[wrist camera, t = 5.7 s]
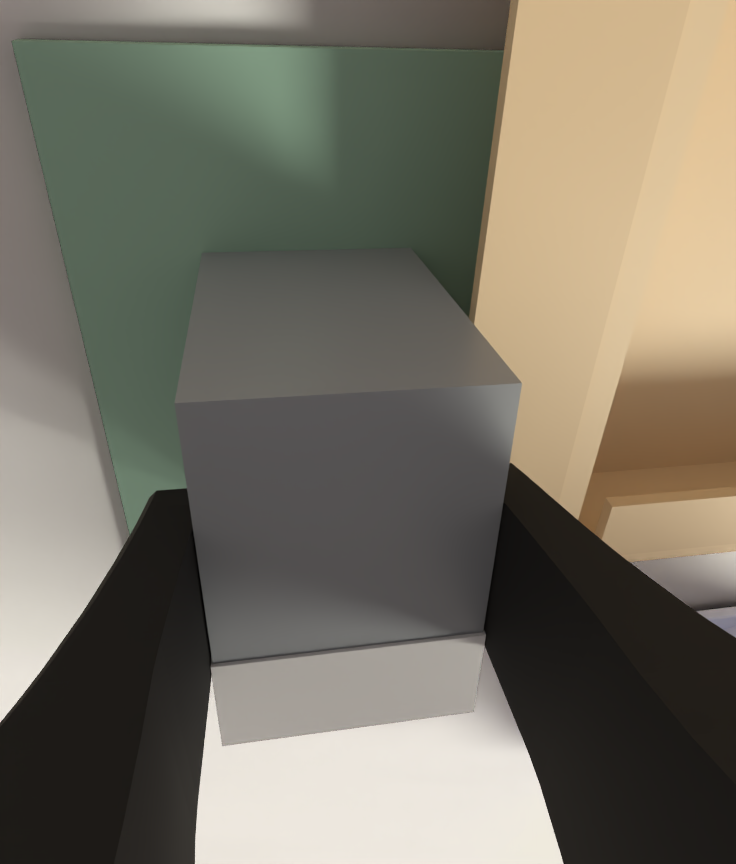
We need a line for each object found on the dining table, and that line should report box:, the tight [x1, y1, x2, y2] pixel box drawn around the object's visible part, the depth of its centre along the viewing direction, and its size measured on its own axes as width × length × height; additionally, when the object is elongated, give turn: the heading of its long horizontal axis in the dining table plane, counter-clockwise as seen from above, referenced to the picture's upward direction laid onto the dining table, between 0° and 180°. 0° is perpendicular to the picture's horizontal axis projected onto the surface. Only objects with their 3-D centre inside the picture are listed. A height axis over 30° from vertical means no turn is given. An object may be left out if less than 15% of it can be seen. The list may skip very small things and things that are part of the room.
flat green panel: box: [12, 39, 504, 534], centre depth 14 cm, size 12×9×1 cm
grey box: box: [174, 248, 522, 746], centre depth 12 cm, size 6×4×6 cm, turn 178°
